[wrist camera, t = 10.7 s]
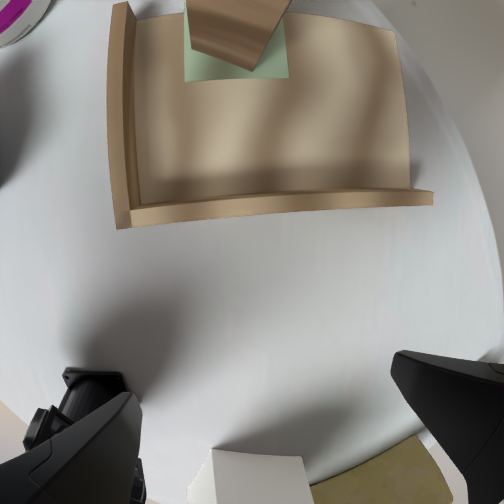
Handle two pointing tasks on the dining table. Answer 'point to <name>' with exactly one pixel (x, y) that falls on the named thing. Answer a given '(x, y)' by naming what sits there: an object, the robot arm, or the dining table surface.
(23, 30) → the supplement can
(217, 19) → the walnut block
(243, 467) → the milk
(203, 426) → the dining table surface
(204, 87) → the tray
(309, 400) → the dining table surface
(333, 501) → the cheese
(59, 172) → the dining table surface
